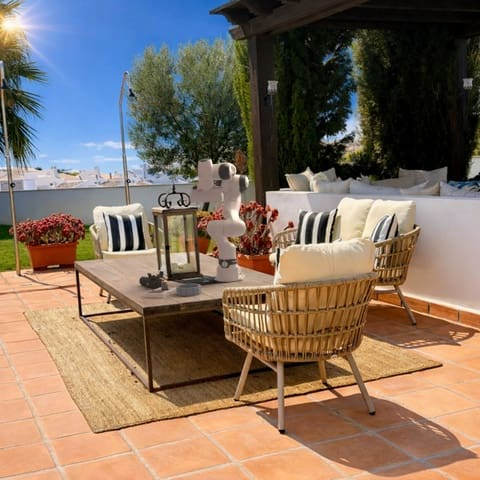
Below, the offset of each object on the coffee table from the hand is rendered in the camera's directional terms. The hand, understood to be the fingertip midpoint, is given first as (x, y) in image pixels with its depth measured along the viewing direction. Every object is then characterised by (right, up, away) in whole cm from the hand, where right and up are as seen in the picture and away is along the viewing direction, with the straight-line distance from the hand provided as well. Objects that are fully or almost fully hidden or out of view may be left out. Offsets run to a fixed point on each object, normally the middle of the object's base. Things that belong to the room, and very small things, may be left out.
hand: (207, 209), depth 369 cm
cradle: (-27, -49, -3) cm, 56 cm away
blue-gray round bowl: (-11, -49, -5) cm, 50 cm away
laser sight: (-35, -48, +20) cm, 62 cm away
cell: (-25, -49, +1) cm, 55 cm away
